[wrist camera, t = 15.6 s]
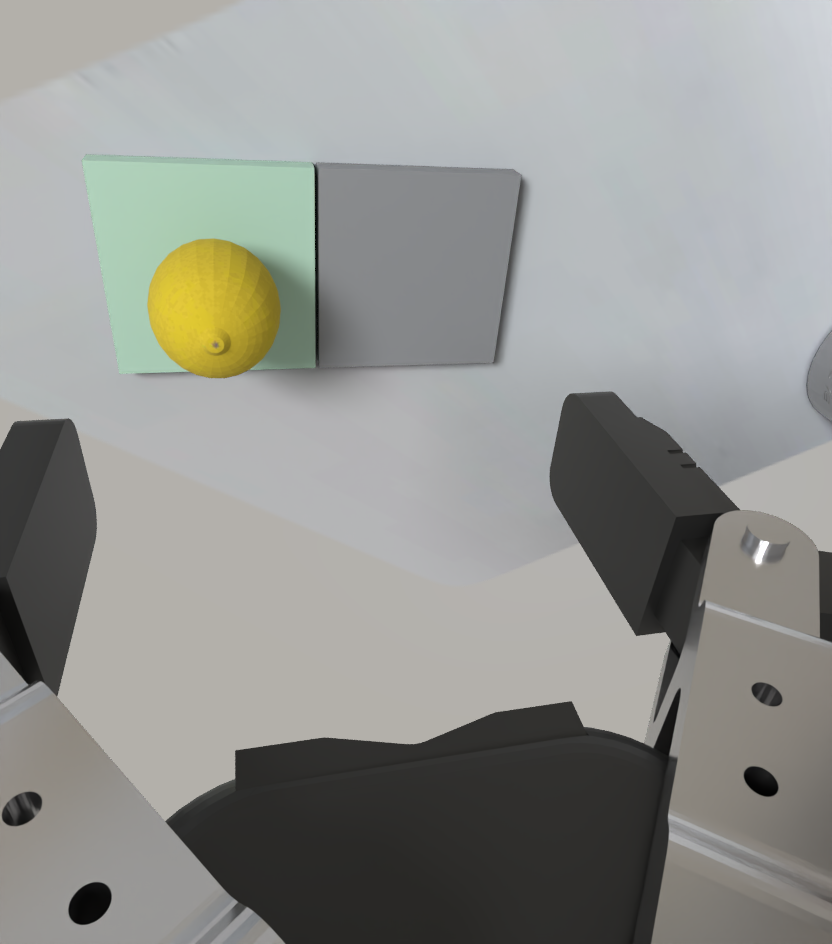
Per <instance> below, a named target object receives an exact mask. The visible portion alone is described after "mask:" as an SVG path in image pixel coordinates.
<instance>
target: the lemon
mask: <svg viewBox="0 0 832 944" xmlns="http://www.w3.org/2000/svg"><path fill="white" fill-rule="evenodd" d="M147 307H148V314H149V320H150V325H151V328H152V330H153V333H154V335H155V337H156V339H157V341H158V344H159V345H160V346H161V348H162V349H163V350H164V351H165V353H166V354H167V355H168V356H169V358H170V359H171V360H173V361H174V362H175V363H177V364H178V365H179V366H180V367H182V368H183V369H185V370H187V371H189V372H191V373H194V374H196V375H199V376H204V377H208V378H227V377H232V376H236V375H239V374H241V373H243V372H245V371H247V370H250V369H251V368H253V367H254V366H255V365H256V364H257V363H259V362H260V361H261V360H262V359H263V358H264V357H265V355H266V354H267V352H268V351H269V350H270V348H271V347H272V345H273V343H274V340H275V337H276V335H277V332H278V329H279V324H280V313H281V306H280V300H279V295H278V290H277V287H276V285H275V283H274V281H273V279H272V276H271V274H270V272H269V271H268V270H267V268H266V267H265V266H264V265H263V264H262V262H261V261H260V260H259V259H258V258H257V257H256V256H255V255H253V254H252V253H251V252H250V251H248V250H247V249H246V248H244V247H242V246H239V245H237V244H235V243H232V242H230V241H226V240H220V239H215V238H212V239H198V240H195V241H192V242H189V243H186V244H183V245H181V246H180V247H178V248H177V249H175V250H174V251H172V252H171V253H169V254H168V255H167V257H166V258H165V259H164V260H163V261H162V262H161V264H160V265H159V266H158V267H157V269H156V271H155V274H154V276H153V278H152V280H151V283H150V286H149V294H148V302H147Z"/></svg>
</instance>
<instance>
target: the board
mask: <svg viewBox="0 0 832 944" xmlns="http://www.w3.org/2000/svg"><path fill="white" fill-rule="evenodd" d="M82 165H83V171H84V176H85V182H86V187H87V193H88V199H89V204H90V210H91V216H92V221H93V227H94V233H95V238H96V244H97V250H98V255H99V261H100V267H101V272H102V278H103V283H104V289H105V295H106V300H107V306H108V312H109V317H110V323H111V329H112V334H113V340H114V346H115V351H116V357H117V363H118V368H119V374H128V373H162V372H189V371H187V370H185V369H183V368H182V367H180V366H179V365H178V364H177V363H175V362H174V361H173V360H171V359H170V358H169V356H168V355H167V354H166V353H165V351H164V350H163V349H162V348H161V346H160V345H159V344H158V341H157V339H156V337H155V335H154V333H153V330H152V328H151V325H150V320H149V314H148V307H147V302H148V294H149V286H150V283H151V280H152V278H153V276H154V274H155V271H156V269H157V267H158V266H159V265H160V264H161V262H162V261H163V260H164V259H165V258H166V257H167V255H168V254H169V253H171V252H172V251H174V250H175V249H177V248H178V247H180V246H181V245H183V244H186V243H189V242H192V241H195V240H198V239H212V238H215V239H220V240H226V241H230V242H232V243H235V244H237V245H239V246H242V247H244V248H246V249H247V250H248V251H250V252H251V253H252V254H253V255H255V256H256V257H257V258H258V259H259V260H260V261H261V262H262V264H263V265H264V266H265V267H266V268H267V270H268V271H269V272H270V274H271V276H272V279H273V281H274V283H275V285H276V287H277V290H278V295H279V300H280V306H281V313H280V324H279V329H278V332H277V335H276V337H275V340H274V343H273V345H272V347H271V348H270V350H269V351H268V352H267V354H266V355H265V357H264V358H263V359H262V360H261V361H260V362H259V363H257V364H256V365H255V366H254V367H253V368H251V369H250V370H264V369H298V368H315V185H314V166H313V164H312V162H286V161H257V160H229V159H200V158H171V157H142V156H114V155H85V157H84V158H83V159H82ZM520 181H521V174H519V173H518V172H516V171H515V170H513V169H487V168H458V167H430V166H401V165H372V164H343V163H316V270H317V361H318V365H319V368H332V367H366V366H400V365H434V364H468V363H493V362H494V356H495V349H496V342H497V335H498V329H499V322H500V315H501V309H502V302H503V295H504V288H505V282H506V275H507V268H508V262H509V255H510V248H511V242H512V235H513V228H514V221H515V215H516V208H517V201H518V195H519V188H520Z"/></svg>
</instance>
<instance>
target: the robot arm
mask: <svg viewBox="0 0 832 944" xmlns="http://www.w3.org/2000/svg"><path fill="white" fill-rule="evenodd" d="M807 390H808V397H809V399H810V401H811V404H812V406H813V407H814V408H815V409H816V410H817V411H818V412H819V413H821V414H822V415H823V416H825V417H826V418H827V419H829V420H830V421H832V331H831V332H830V333H829V335H828V336H827V338H826V339H825V340H824V342H823V343H822V345H821V346H820V348H819V350H818V351H817V353H816V355H815V357H814V359H813V361H812V364H811V367H810V371H809V374H808V382H807ZM550 487H551V492H552V496H553V499H554V501H555V503H556V505H557V507H558V508H559V510H560V511H561V513H562V515H563V516H564V518H565V520H566V521H567V523H568V525H569V526H570V528H571V530H572V531H573V533H574V534H575V536H576V538H577V539H578V541H579V543H580V544H581V546H582V547H583V549H584V551H585V552H586V554H587V556H588V557H589V559H590V561H591V562H592V564H593V566H594V567H595V569H596V571H597V572H598V574H599V576H600V577H601V579H602V580H603V582H604V583H605V585H606V587H607V589H608V590H609V592H610V594H611V595H612V597H613V599H614V600H615V602H616V603H617V605H618V606H619V608H620V610H621V612H622V613H623V615H624V617H625V618H626V620H627V622H628V623H629V625H630V626H631V628H632V630H633V631H634V633H635V635H636V636H639V635H646V634H654V633H662V632H666V634H667V635H668V637H669V638H670V643H669V645H668V648H667V651H666V653H665V656H664V660H663V665H662V669H661V673H660V678H659V682H658V687H657V691H656V695H655V699H654V704H653V708H652V713H651V717H650V721H649V725H648V729H647V734H646V738H645V742H644V743H641V742H639V741H636V740H634V739H632V738H629V737H626V736H623V735H619V734H616V733H613V732H609V731H605V730H599V729H594V728H588V727H583V725H582V723H581V721H580V718H579V716H578V714H577V712H576V710H575V707H574V705H573V703H572V702H564V703H557V704H550V705H543V706H536V707H530V708H523V709H516V710H510V711H503V712H496V713H493V714H490V715H488V716H486V717H483V718H481V719H478V720H476V721H474V722H471V723H469V724H466V725H464V726H461V727H459V728H457V729H454V730H452V731H449V732H447V733H445V734H443V735H440V736H437V737H435V738H433V739H430V740H428V741H426V742H422V743H419V744H397V743H396V744H395V743H384V742H372V741H360V740H359V741H358V740H348V739H336V738H318V739H311V740H304V741H297V742H291V743H284V744H277V745H270V746H263V747H257V748H250V749H243V750H236V751H235V757H236V759H235V761H236V762H235V766H236V767H235V769H236V771H235V776H236V778H235V780H232V781H229V782H227V783H224V784H222V785H219V786H217V787H216V788H214V789H212V790H210V791H208V792H207V793H204V794H203V795H201V796H199V797H197V798H196V799H194V800H193V801H191V802H190V803H188V804H187V805H185V806H184V807H182V808H181V809H179V810H178V811H177V812H176V813H175V814H173V815H172V816H171V817H170V818H169V819H167V820H166V821H164V820H163V819H162V818H161V816H160V815H159V814H158V813H157V812H156V811H155V809H154V808H153V807H152V806H151V805H150V804H149V802H148V801H147V800H146V799H145V798H144V797H143V796H142V794H141V793H140V792H139V791H138V790H137V789H136V787H135V786H134V785H133V784H132V783H131V782H130V781H129V779H128V778H127V777H126V776H125V775H124V774H123V772H122V771H121V770H120V769H119V768H118V767H117V766H116V764H115V763H114V762H113V761H112V760H111V759H110V757H108V755H107V754H106V753H105V752H104V751H103V750H102V748H101V747H100V746H99V745H98V744H97V743H96V741H95V740H94V739H93V738H92V737H91V736H90V734H89V733H88V732H87V731H86V730H85V729H84V727H83V726H82V725H81V724H80V723H79V722H78V721H77V719H75V717H74V716H73V715H72V714H71V713H70V711H69V710H68V709H67V708H66V707H65V706H64V704H63V703H62V702H61V701H60V700H59V699H58V698H57V695H58V691H59V687H60V683H61V679H62V675H63V671H64V667H65V662H66V658H67V654H68V650H69V646H70V642H71V638H72V634H73V630H74V626H75V622H76V617H77V613H78V609H79V605H80V601H81V597H82V593H83V589H84V585H85V581H86V577H87V572H88V569H89V564H90V560H91V556H92V552H93V548H94V544H95V539H96V529H97V522H96V520H97V519H96V509H95V502H94V498H93V494H92V490H91V486H90V482H89V478H88V474H87V470H86V466H85V462H84V458H83V454H82V450H81V446H80V442H79V438H78V434H77V431H76V428H75V425H74V423H73V422H72V420H70V419H51V420H32V421H17V422H15V423H13V425H12V427H11V429H10V431H9V433H8V435H7V437H6V439H5V441H4V443H3V445H2V447H1V449H0V944H832V553H830V552H823V551H818V550H817V547H816V545H815V544H814V543H813V541H812V540H811V539H810V538H809V537H808V536H807V535H806V534H805V533H804V532H803V531H801V530H800V529H799V528H797V527H796V526H794V525H793V524H791V523H789V522H787V521H785V520H783V519H780V518H778V517H775V516H772V515H769V514H766V513H762V512H756V511H748V510H740V509H739V508H738V507H737V506H736V505H735V504H734V503H733V502H732V501H731V500H730V499H729V498H728V497H727V496H726V495H725V493H724V492H723V491H722V490H721V489H720V488H719V487H718V486H717V485H716V484H715V483H714V482H713V481H712V480H711V479H710V478H709V477H708V475H707V474H706V473H705V472H704V471H703V470H702V469H701V468H700V467H696V463H695V462H694V461H693V460H692V459H691V458H690V456H689V455H688V454H687V453H683V449H682V448H681V447H680V446H679V445H678V444H677V443H676V442H675V441H674V440H673V438H672V437H671V436H670V435H669V434H668V433H667V432H666V431H664V430H662V429H660V428H659V427H657V426H655V425H653V424H652V423H650V422H648V421H647V420H645V419H643V418H641V417H639V418H637V417H636V416H635V415H634V414H633V413H632V411H631V410H630V409H629V408H628V407H627V406H626V405H625V404H624V403H623V402H622V400H621V399H620V398H619V397H618V396H617V395H616V394H615V393H613V392H593V393H574V394H569V395H568V396H567V397H566V399H565V401H564V403H563V407H562V411H561V416H560V421H559V427H558V432H557V437H556V442H555V447H554V452H553V457H552V462H551V467H550Z"/></svg>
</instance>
